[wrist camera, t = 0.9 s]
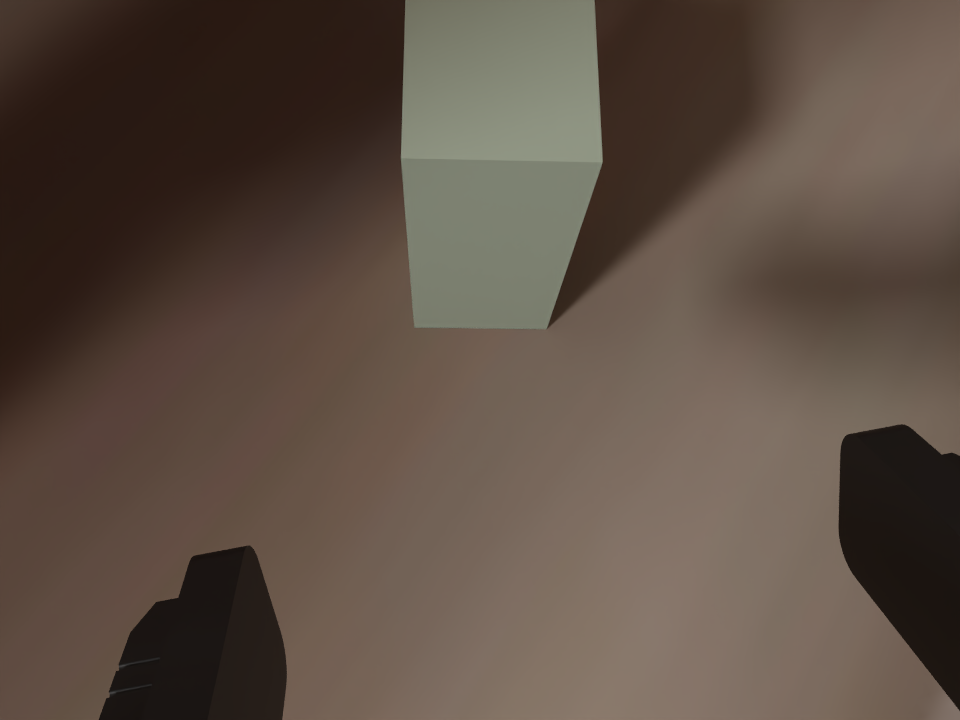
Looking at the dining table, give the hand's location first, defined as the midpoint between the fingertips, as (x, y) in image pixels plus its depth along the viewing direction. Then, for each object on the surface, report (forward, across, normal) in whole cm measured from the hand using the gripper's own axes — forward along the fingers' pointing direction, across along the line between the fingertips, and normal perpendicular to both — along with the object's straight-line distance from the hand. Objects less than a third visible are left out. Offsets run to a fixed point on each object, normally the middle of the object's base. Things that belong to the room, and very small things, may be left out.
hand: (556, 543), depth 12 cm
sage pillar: (+20, -1, +3) cm, 20 cm away
